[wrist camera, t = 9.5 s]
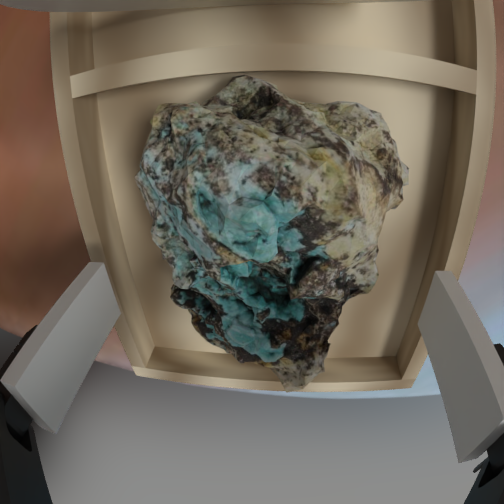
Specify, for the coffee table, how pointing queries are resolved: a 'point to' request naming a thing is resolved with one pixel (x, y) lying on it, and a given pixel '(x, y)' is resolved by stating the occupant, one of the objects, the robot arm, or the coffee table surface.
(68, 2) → the standing plate
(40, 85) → the coffee table surface
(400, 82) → the wooden tray
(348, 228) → the mineral specimen
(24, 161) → the coffee table surface
